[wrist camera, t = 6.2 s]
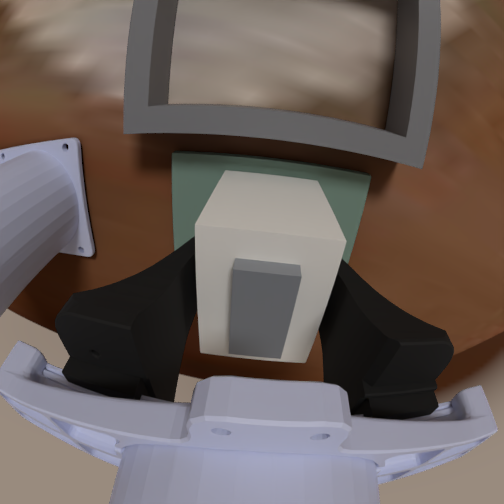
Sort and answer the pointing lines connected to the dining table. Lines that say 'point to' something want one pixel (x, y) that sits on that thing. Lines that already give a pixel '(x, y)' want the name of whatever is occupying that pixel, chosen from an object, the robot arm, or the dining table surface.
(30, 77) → the dining table surface
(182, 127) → the grey square frame
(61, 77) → the dining table surface
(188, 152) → the rubber mat
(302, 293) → the block
